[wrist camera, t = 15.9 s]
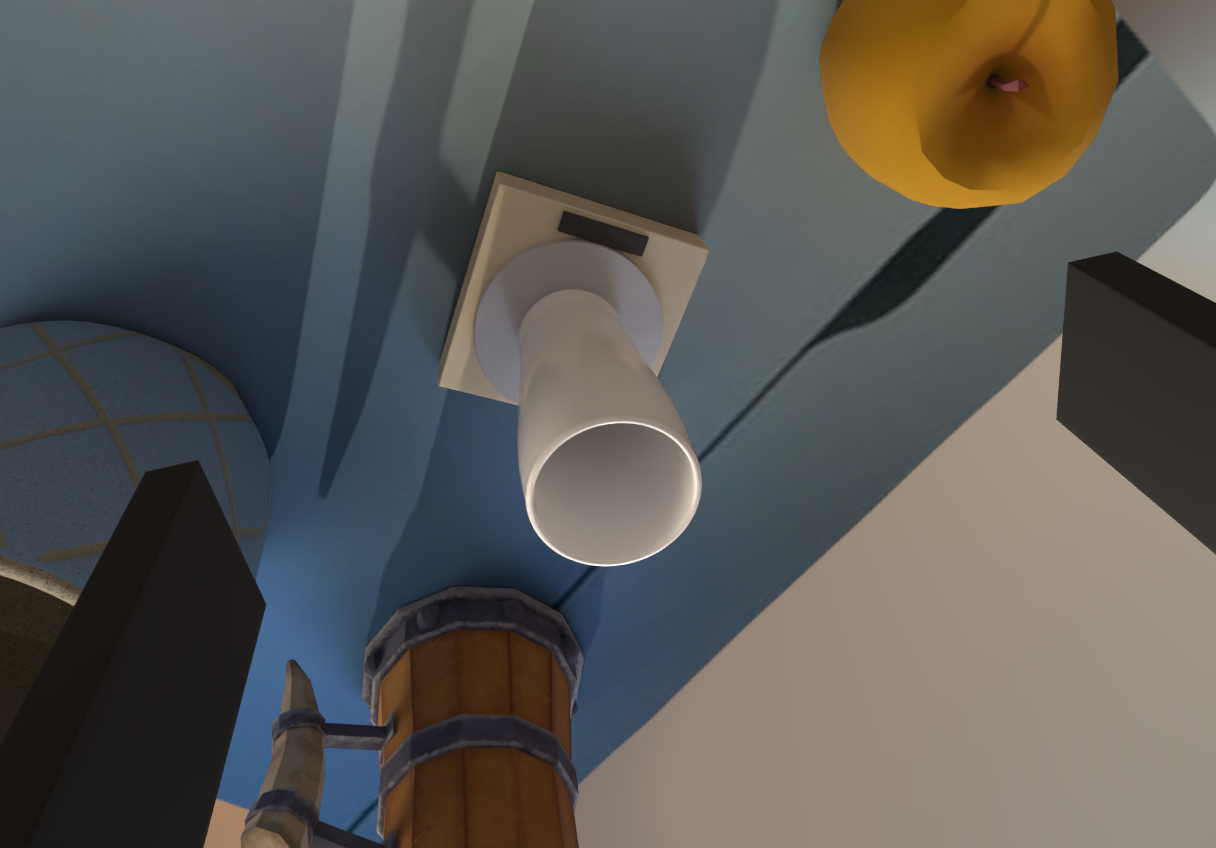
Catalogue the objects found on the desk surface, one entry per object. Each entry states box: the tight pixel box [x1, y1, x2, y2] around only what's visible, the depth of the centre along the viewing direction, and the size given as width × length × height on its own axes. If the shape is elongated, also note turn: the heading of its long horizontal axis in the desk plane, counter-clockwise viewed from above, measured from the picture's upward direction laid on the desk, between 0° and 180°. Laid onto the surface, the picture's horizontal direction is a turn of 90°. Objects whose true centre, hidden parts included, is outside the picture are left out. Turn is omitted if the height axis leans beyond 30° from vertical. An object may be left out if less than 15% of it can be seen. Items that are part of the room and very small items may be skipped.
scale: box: [438, 171, 710, 405], centre depth 49 cm, size 11×11×3 cm
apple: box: [819, 0, 1118, 209], centre depth 41 cm, size 11×11×13 cm
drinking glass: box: [517, 289, 702, 566], centre depth 41 cm, size 7×7×15 cm
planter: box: [0, 321, 272, 699], centre depth 42 cm, size 19×19×20 cm
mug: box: [241, 586, 584, 848], centre depth 52 cm, size 19×14×20 cm
